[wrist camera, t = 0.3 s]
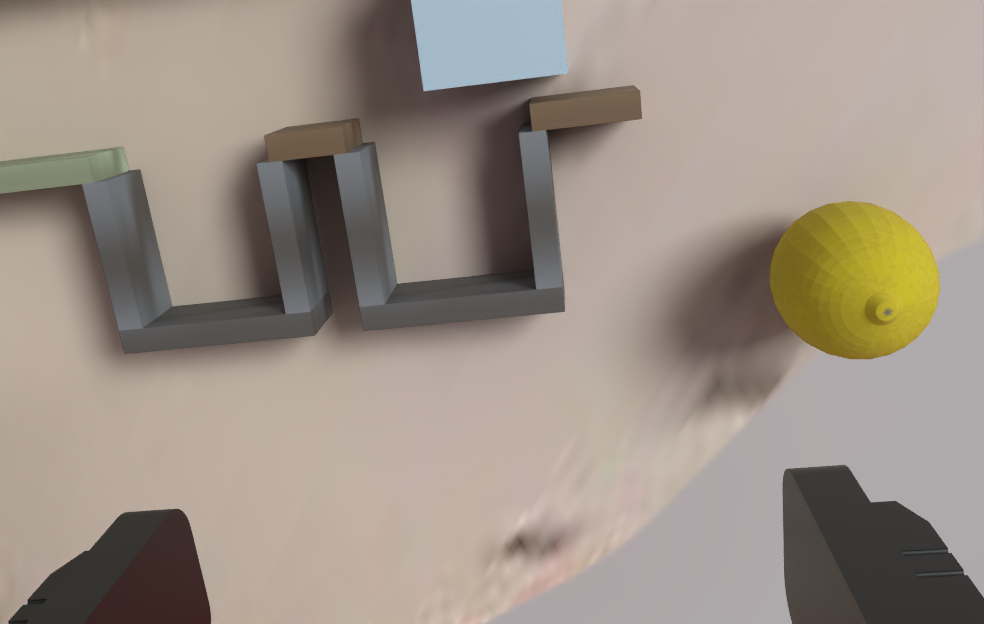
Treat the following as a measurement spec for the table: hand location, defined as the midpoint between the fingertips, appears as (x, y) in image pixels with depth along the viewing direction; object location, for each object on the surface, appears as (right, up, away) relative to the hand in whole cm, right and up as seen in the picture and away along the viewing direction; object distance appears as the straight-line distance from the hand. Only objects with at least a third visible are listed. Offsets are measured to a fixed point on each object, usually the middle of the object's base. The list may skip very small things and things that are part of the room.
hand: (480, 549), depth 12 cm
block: (0, +15, +23) cm, 28 cm away
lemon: (+14, +6, +25) cm, 29 cm away
